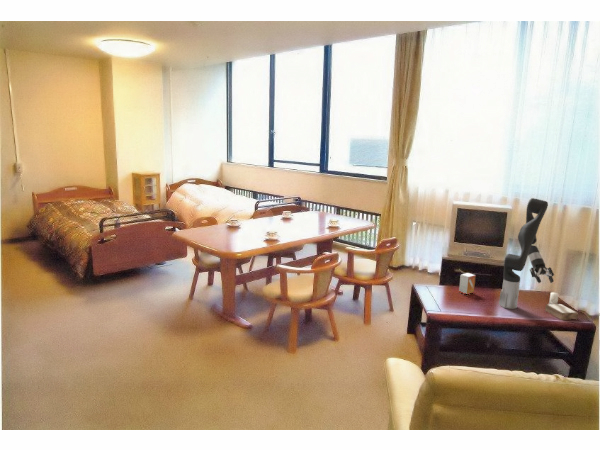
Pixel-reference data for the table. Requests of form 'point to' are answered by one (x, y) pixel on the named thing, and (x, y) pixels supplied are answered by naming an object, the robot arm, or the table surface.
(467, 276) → the small box
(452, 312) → the table surface
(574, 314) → the dock
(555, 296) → the canister
